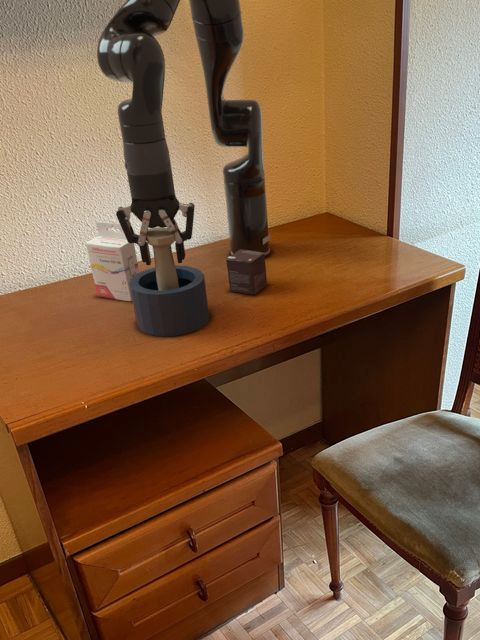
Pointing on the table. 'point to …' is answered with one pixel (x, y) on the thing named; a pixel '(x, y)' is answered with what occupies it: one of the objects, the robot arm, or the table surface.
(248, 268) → the box
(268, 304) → the table surface
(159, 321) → the jar
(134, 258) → the ink cartridge box
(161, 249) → the handle
